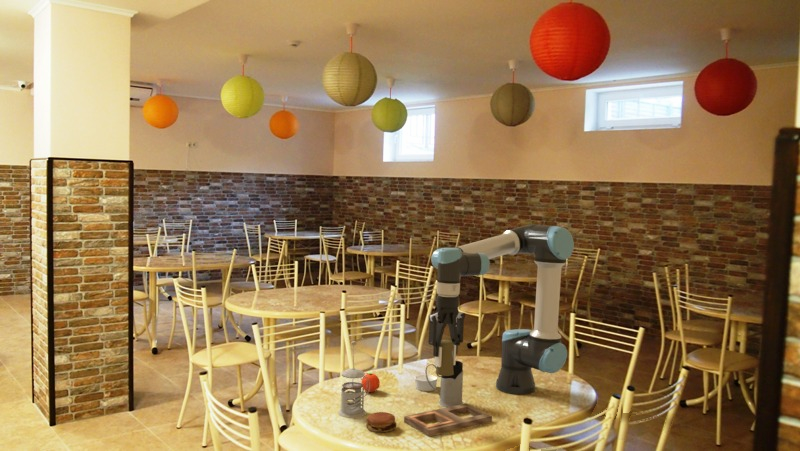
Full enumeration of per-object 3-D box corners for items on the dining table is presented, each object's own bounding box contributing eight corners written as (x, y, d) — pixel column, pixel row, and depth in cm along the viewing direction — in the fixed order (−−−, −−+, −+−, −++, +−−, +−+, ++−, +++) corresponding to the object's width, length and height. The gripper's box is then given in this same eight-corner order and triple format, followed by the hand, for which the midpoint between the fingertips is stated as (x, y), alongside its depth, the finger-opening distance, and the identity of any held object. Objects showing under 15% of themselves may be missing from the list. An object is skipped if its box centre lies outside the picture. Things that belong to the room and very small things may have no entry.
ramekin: (409, 387, 251) (409, 376, 251) (427, 383, 257) (427, 372, 256) (424, 393, 244) (424, 382, 244) (441, 389, 250) (442, 378, 249)
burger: (360, 426, 210) (361, 412, 209) (384, 421, 215) (385, 407, 215) (377, 436, 202) (377, 422, 201) (401, 431, 207) (402, 416, 207)
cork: (452, 376, 209) (454, 343, 209) (434, 374, 211) (435, 341, 210) (454, 371, 215) (456, 339, 215) (436, 369, 216) (438, 337, 216)
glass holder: (460, 409, 228) (461, 367, 227) (421, 404, 232) (422, 363, 231) (465, 401, 236) (466, 361, 235) (427, 396, 240) (428, 357, 239)
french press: (332, 411, 222) (333, 339, 221) (360, 405, 229) (361, 335, 228) (347, 420, 215) (349, 346, 213) (376, 413, 222) (378, 341, 220)
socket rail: (465, 409, 228) (465, 402, 228) (491, 421, 216) (492, 415, 216) (404, 422, 214) (404, 415, 214) (428, 436, 202) (428, 429, 202)
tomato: (357, 388, 247) (358, 370, 247) (374, 387, 250) (374, 369, 250) (364, 395, 240) (365, 376, 239) (382, 393, 243) (382, 374, 242)
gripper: (432, 298, 203) (429, 371, 205) (476, 295, 213) (473, 364, 215) (418, 294, 210) (415, 365, 211) (462, 291, 220) (459, 359, 221)
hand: (444, 364), depth 213 cm, fingers closed on cork, 5 cm apart
